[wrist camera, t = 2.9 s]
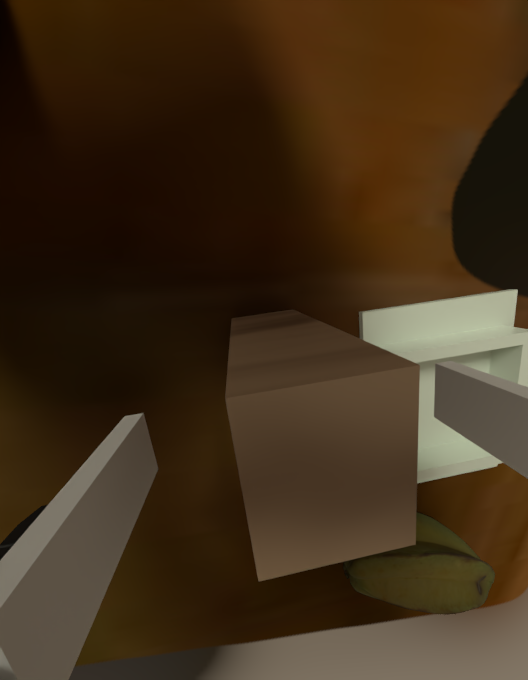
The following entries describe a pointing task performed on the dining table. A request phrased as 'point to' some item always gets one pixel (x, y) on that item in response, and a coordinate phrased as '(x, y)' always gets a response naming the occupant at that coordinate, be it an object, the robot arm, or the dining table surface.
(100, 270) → the dining table surface
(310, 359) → the wooden square post
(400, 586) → the fruit
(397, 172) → the dining table surface
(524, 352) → the holder plate
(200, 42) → the dining table surface
